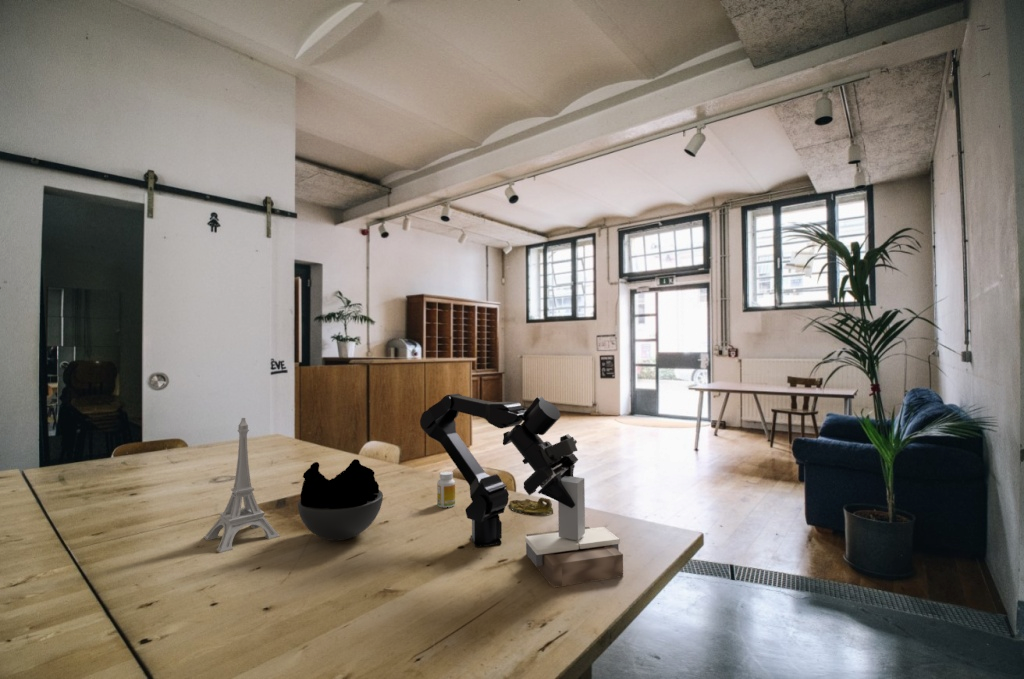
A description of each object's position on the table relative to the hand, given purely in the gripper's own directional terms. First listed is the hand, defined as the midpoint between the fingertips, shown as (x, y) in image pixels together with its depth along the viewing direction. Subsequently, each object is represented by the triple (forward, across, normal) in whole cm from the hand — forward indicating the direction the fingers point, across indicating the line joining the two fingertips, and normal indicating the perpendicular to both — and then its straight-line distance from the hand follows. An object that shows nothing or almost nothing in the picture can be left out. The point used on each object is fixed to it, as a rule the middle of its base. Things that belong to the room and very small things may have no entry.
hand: (577, 503), depth 102 cm
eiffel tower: (-47, -24, +67) cm, 85 cm away
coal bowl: (-31, -13, +51) cm, 61 cm away
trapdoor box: (+9, 0, +10) cm, 13 cm away
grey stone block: (+4, 0, +6) cm, 7 cm away
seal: (-8, +28, +28) cm, 41 cm away
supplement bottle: (-25, +20, +45) cm, 55 cm away
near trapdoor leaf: (+5, -3, +11) cm, 12 cm away
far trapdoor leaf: (+9, +3, +6) cm, 12 cm away
